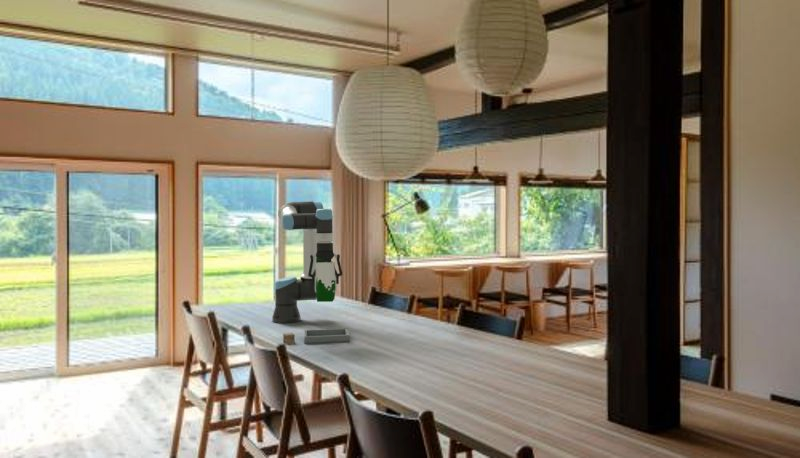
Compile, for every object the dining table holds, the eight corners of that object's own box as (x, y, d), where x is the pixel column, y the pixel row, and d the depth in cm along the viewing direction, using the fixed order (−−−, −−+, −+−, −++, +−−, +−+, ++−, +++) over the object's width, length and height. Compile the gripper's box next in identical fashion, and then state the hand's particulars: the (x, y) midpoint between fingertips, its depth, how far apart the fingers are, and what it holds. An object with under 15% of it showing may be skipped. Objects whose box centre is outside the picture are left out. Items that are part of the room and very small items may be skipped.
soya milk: (317, 299, 287) (316, 256, 286) (336, 299, 287) (336, 256, 286) (314, 302, 278) (313, 258, 278) (334, 301, 278) (333, 258, 277)
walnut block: (283, 342, 278) (283, 333, 277) (291, 341, 280) (291, 332, 279) (286, 344, 274) (286, 335, 274) (294, 343, 276) (294, 334, 276)
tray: (304, 336, 290) (304, 330, 290) (346, 334, 293) (346, 328, 293) (304, 343, 274) (304, 337, 274) (349, 341, 277) (349, 335, 277)
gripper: (301, 243, 276) (302, 293, 277) (348, 242, 280) (349, 291, 280) (301, 242, 284) (302, 291, 285) (347, 241, 287) (348, 289, 288)
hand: (325, 291), depth 282 cm, fingers closed on soya milk, 8 cm apart
